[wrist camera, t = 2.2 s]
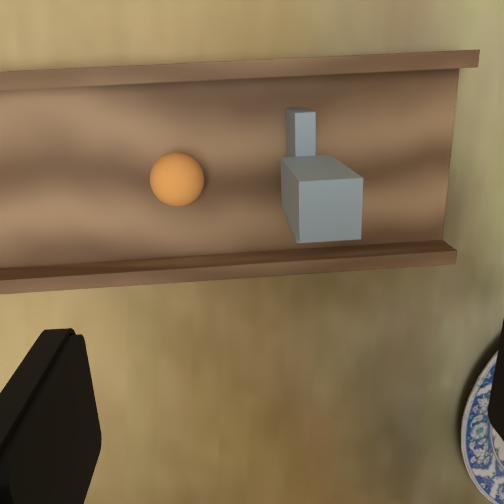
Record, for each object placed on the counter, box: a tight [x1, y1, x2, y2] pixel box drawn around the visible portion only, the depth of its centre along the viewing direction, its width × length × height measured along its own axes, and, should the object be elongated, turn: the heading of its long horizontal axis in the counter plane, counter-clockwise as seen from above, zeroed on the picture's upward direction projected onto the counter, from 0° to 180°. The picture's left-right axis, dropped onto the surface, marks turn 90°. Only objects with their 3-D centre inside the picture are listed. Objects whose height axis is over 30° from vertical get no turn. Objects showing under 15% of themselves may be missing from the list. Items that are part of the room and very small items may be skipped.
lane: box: [0, 50, 480, 294], centre depth 31 cm, size 14×50×6 cm, turn 93°
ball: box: [150, 152, 204, 207], centre depth 31 cm, size 4×4×4 cm
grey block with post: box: [281, 108, 363, 243], centre depth 28 cm, size 8×3×11 cm, turn 2°
